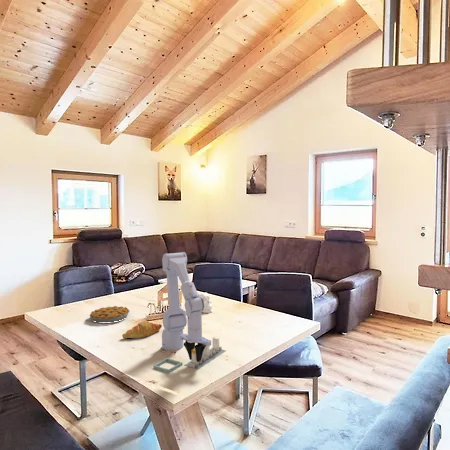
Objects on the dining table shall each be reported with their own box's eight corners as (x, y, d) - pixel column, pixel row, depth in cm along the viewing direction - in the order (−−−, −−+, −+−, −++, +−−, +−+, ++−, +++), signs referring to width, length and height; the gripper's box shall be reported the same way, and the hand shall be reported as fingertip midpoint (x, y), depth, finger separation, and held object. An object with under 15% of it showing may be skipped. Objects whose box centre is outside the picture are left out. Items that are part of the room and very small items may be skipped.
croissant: (125, 348, 175) (127, 336, 172) (117, 333, 182) (119, 322, 178) (164, 336, 188) (167, 325, 185) (155, 323, 195) (158, 312, 191)
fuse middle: (201, 358, 153) (201, 344, 152) (205, 355, 155) (205, 341, 155) (207, 359, 151) (206, 345, 151) (211, 357, 154) (210, 343, 153)
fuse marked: (190, 365, 147) (189, 350, 146) (194, 362, 149) (194, 347, 149) (196, 366, 145) (195, 352, 145) (200, 363, 148) (200, 349, 147)
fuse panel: (184, 367, 146) (183, 362, 146) (213, 349, 164) (213, 344, 164) (198, 371, 143) (197, 366, 143) (226, 352, 160) (226, 347, 160)
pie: (134, 313, 220) (134, 304, 220) (121, 325, 198) (120, 316, 198) (100, 312, 222) (100, 304, 222) (82, 324, 200) (82, 315, 200)
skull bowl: (207, 312, 213) (199, 293, 216) (193, 321, 221) (185, 303, 224) (219, 308, 221) (210, 290, 224) (205, 316, 229) (197, 299, 232)
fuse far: (211, 351, 159) (211, 338, 159) (215, 349, 162) (214, 336, 161) (217, 353, 158) (216, 339, 157) (220, 350, 160) (220, 337, 160)
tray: (153, 369, 144) (153, 365, 144) (167, 362, 151) (167, 357, 151) (169, 375, 140) (168, 370, 140) (182, 366, 147) (182, 362, 147)
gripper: (174, 326, 147) (175, 359, 147) (203, 333, 139) (204, 368, 140) (185, 321, 152) (186, 353, 153) (213, 327, 145) (214, 361, 146)
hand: (195, 359), depth 147 cm, fingers open, 3 cm apart
